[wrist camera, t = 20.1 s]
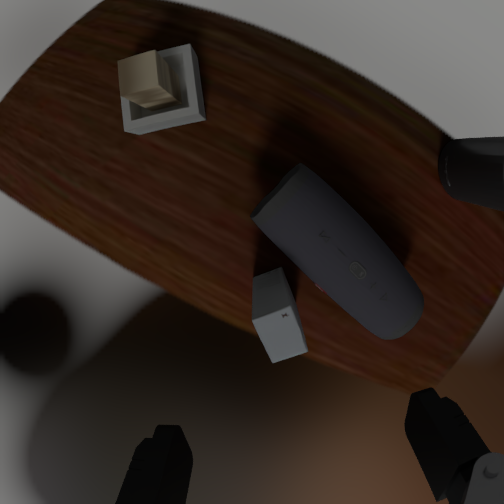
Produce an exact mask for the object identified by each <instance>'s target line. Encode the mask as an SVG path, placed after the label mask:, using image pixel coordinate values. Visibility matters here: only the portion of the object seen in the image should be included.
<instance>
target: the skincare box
mask: <svg viewBox="0 0 504 504" xmlns="http://www.w3.org/2000/svg"><path fill="white" fill-rule="evenodd" d="M252 297H253V298H252V322H253V324H254V326H255V328H256V331H257V333H258V335H259V337H260V339H261V341H262V343H263V345H264V347H265V349H266V351H267V353H268V355H269V357H270V359H271V361H272V363H275V362H277V361H281V360H284V359H287V358H290V357H293V356H296V355H299V354H302V353H306V352H308V348H307V344H306V340H305V336H304V332H303V329H302V325H301V321H300V317H299V313H298V309H297V305H296V302H295V300H294V297H293V294H292V291H291V289H290V286H289V284H288V281H287V279H286V276H285V274H284V271H283V268H282V267H280V268H277V269H275V270H272V271H269V272H267V273H264V274H261V275H259V276H256V277H253V296H252Z"/></svg>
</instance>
